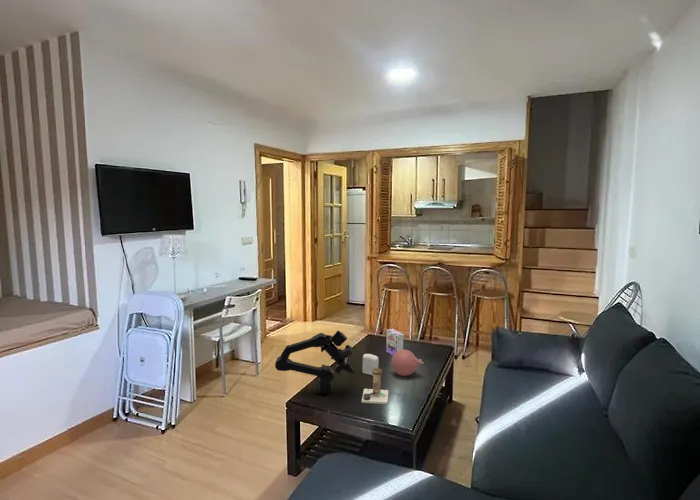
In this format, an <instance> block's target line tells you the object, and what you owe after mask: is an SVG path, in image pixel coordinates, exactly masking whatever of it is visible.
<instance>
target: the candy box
mask: <svg viewBox="0 0 700 500" xmlns="http://www.w3.org/2000/svg"><path fill="white" fill-rule="evenodd" d="M385 335H386V337H385V338H386V341H385V342H386V343H385V344H386V345H385V353H388V354H389V355H391V356H392V357H393V355H394V354H395V353H396V352H397V351H399V350H404V336H405V334H404V333H402V332H400V331H398V330H396V329H394V328H389V329H386V333H385Z"/></svg>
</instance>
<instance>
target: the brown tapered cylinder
mask: <svg viewBox="0 0 700 500" xmlns="http://www.w3.org/2000/svg"><path fill="white" fill-rule="evenodd" d="M372 373H373V376H372V389H373V393H370V394H364V395H363V394H362V397H363V399H365V400H369V399H370V396H371V395H374V394H379V393H380V390H381V376H382V373H383V369H381V368H379V367H378V368H374V369H372Z"/></svg>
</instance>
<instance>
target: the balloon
mask: <svg viewBox="0 0 700 500" xmlns="http://www.w3.org/2000/svg"><path fill="white" fill-rule="evenodd" d="M390 361H391V363H390V364H391V368H392V370H393V372H394V373H396V374H397V375H399V376H403V377H407V376H410V375H412V374H413V373H414V372H415V371H416V369H417V367H418V366H419V367H421V366H422V365H425V363H424V362H423V360H422V359H421V358H419V359H418V358H417V357H416V356H415V355H414V352H412V351H410V350H408V349H403V350H399V351H397V352H396V353H395V354H394V355H393V356H392V357H391V360H390Z"/></svg>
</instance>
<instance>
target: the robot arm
mask: <svg viewBox="0 0 700 500" xmlns="http://www.w3.org/2000/svg"><path fill="white" fill-rule="evenodd" d="M347 340H348V337H347V336H346V335H345V334H344V333H343V332H341V331H340V330H339V329H338V330H337V331H336V332H335V333H334V334H333V335H330V334H329V335H327V334H325V333H323V332H320V333H319V332H318V334H315V335H313V336H312V337H310V338H308V339H305V340H302V341H299V342H295V343H292V344H287V345H286V346H285V347H284V349H283V351H282V352H281V354H280V355H279V356H278V357H277V358H276V360H275V363H274V366H275V369H276V370H277V371H278V372H288V371H293V372H297V373H303V374H307V375H310V376H315V377H318V382H317V383H318V386H317V387H318V390H317V391H316V393H317V394H318V395H321V396H324V397H326V396H328V395H330V394H332V393H333V390H332V384H331V381H332V380H333V379H334V377H335V376H334V370H333V368H332V367H331V366H330V365H325V364H324V363H323V364H321V366H314V365H310V364H306V363H301V362H297V361H294V360H291V359H290V356H291V354H293V353H297V352H300V351H303V350H306V349H310V348H320V353H323V352H326V353H327V354H328V355H329V356H330V359H331V360H334V361H335V362H336V363H335V364H336V366H335V372H336V373H337V374H339V373H340V372H341V371H346V372H348V373H350V374H355V369H354V368H353V366H352V363H351V362H350V361H351V358H350V356H351V355H353V353H354V350H353V347H352V346H351V345H349V344H346V345H345V348H344V349H341V348H338V347H341V346H342V345H343V344H344V343H345V342H346V341H347ZM348 356H349V357H348Z"/></svg>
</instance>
